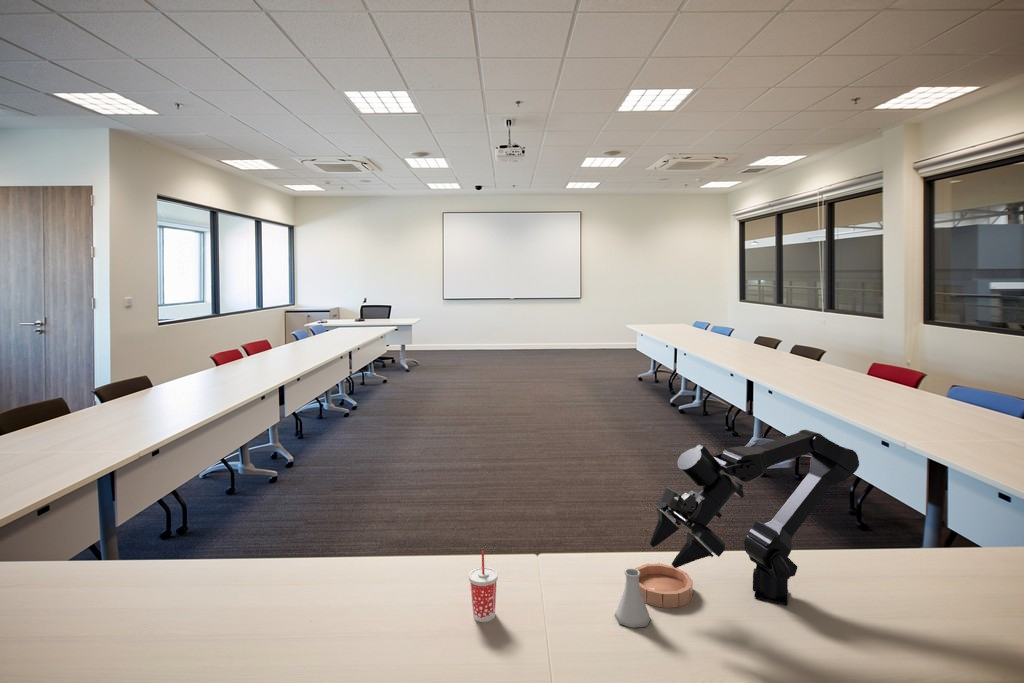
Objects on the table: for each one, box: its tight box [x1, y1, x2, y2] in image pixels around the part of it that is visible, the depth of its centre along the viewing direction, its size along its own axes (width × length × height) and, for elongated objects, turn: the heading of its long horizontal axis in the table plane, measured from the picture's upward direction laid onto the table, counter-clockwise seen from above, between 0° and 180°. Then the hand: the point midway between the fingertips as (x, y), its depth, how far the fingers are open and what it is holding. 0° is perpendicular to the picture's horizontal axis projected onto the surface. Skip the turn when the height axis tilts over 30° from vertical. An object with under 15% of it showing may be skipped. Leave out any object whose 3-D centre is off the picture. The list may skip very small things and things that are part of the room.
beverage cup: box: [468, 550, 499, 623], centre depth 111 cm, size 6×6×14 cm
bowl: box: [634, 563, 694, 609], centre depth 120 cm, size 13×13×3 cm
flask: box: [614, 568, 651, 628], centre depth 109 cm, size 7×7×10 cm
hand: (661, 555), depth 110 cm, fingers open, 9 cm apart
